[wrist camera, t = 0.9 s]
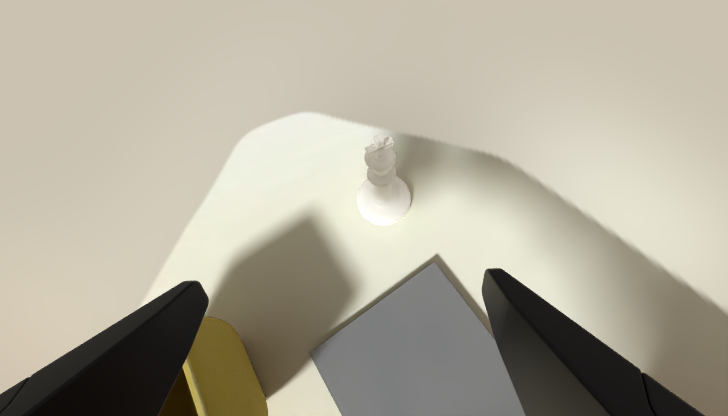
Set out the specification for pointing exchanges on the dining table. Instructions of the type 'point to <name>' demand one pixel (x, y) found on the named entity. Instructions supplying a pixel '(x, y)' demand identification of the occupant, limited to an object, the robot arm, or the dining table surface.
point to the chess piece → (383, 186)
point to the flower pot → (216, 377)
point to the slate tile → (417, 357)
